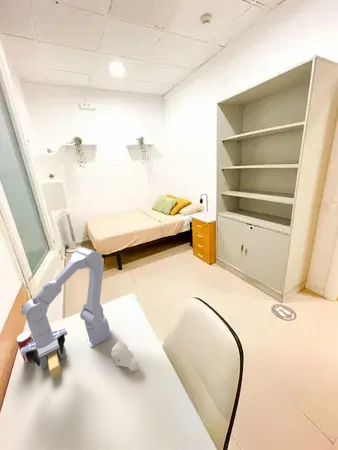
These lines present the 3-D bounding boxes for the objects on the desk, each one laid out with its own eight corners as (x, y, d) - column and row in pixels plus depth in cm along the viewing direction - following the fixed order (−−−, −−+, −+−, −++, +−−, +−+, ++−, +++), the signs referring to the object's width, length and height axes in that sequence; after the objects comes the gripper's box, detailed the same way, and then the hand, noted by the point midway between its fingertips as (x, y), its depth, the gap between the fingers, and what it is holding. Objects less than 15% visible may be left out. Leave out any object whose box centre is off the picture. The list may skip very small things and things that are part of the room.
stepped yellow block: (57, 351, 87) (55, 343, 86) (61, 373, 78) (58, 365, 76) (49, 355, 86) (46, 347, 84) (52, 378, 76) (49, 370, 75)
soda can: (31, 364, 82) (22, 342, 79) (21, 362, 84) (12, 340, 80) (41, 352, 87) (33, 331, 84) (31, 351, 88) (23, 330, 85)
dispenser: (64, 345, 90) (61, 335, 88) (66, 355, 85) (63, 345, 83) (41, 356, 85) (37, 346, 83) (42, 368, 80) (38, 358, 78)
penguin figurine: (120, 335, 82) (142, 351, 76) (122, 350, 85) (143, 366, 79) (108, 347, 77) (130, 365, 71) (110, 362, 81) (131, 380, 74)
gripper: (61, 314, 78) (69, 340, 83) (17, 333, 71) (28, 360, 75) (64, 325, 73) (72, 352, 77) (16, 347, 65) (28, 376, 69)
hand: (50, 357), depth 76 cm, fingers open, 7 cm apart
